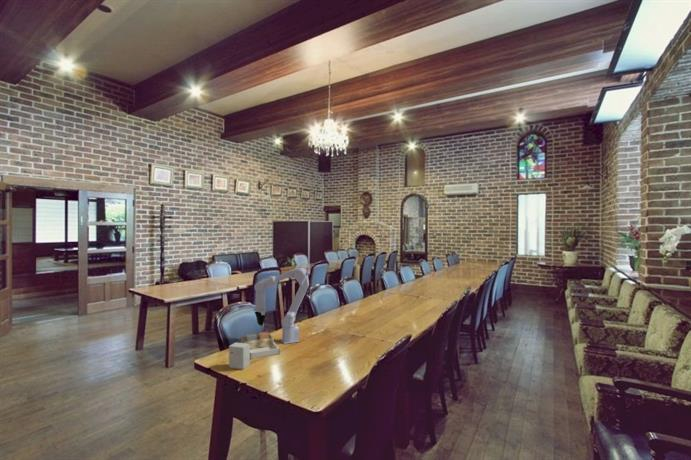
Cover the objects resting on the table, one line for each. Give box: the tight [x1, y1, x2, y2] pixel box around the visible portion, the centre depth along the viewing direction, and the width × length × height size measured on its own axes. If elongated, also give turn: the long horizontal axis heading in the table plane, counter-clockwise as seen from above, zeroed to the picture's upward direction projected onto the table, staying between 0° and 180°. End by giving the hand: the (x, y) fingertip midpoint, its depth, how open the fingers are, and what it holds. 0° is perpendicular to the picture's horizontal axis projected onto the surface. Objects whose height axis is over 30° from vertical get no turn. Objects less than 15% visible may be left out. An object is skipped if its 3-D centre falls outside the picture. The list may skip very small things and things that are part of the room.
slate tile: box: [245, 332, 258, 341], centre depth 187 cm, size 5×5×2 cm
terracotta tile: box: [257, 331, 270, 339], centre depth 190 cm, size 5×5×2 cm
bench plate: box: [240, 333, 275, 350], centre depth 188 cm, size 16×12×4 cm
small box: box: [228, 342, 251, 370], centre depth 160 cm, size 8×6×10 cm
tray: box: [250, 341, 281, 360], centre depth 177 cm, size 16×12×3 cm
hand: (260, 324), depth 197 cm, fingers open, 3 cm apart
